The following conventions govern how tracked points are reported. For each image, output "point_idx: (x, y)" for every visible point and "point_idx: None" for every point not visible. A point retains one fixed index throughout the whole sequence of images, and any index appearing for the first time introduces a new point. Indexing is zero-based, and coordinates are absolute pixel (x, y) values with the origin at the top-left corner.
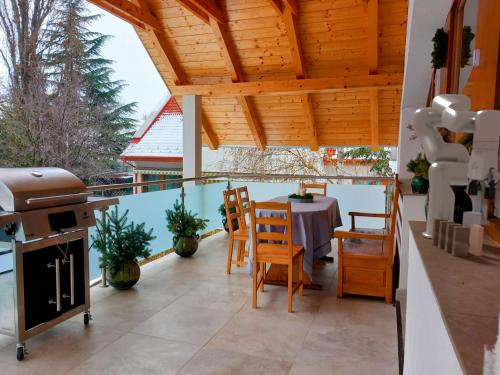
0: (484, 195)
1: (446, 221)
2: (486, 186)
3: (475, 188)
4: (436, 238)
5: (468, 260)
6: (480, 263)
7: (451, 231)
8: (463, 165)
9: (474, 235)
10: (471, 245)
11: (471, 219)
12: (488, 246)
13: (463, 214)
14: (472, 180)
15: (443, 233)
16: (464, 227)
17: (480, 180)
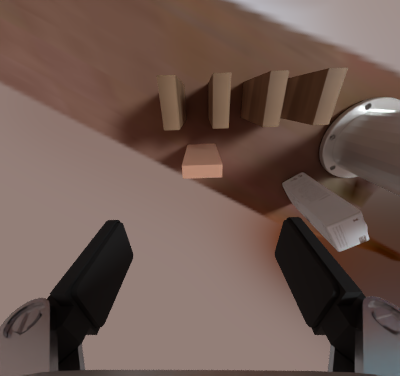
0: (100, 232)
1: (277, 97)
2: (47, 303)
3: (297, 285)
4: (286, 86)
5: (143, 104)
6: (126, 120)
7: (211, 88)
8: None
9: (201, 156)
10: (209, 147)
11: (320, 212)
12: (265, 205)
13: (354, 207)
14: (355, 360)
15: (254, 86)
16: (162, 110)
17: (37, 374)
